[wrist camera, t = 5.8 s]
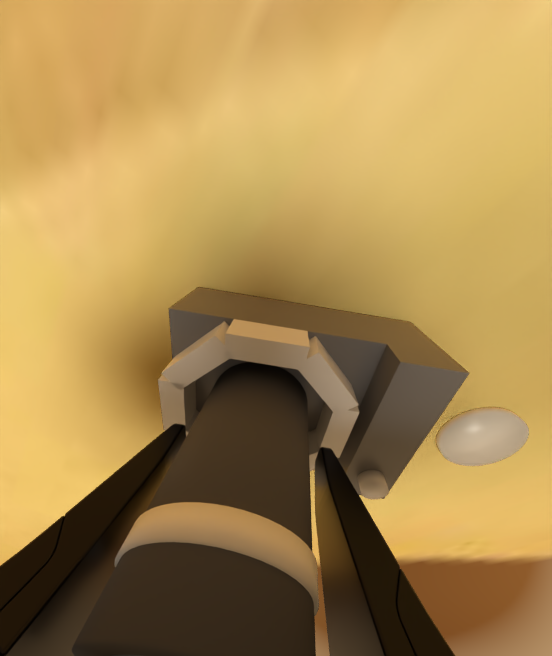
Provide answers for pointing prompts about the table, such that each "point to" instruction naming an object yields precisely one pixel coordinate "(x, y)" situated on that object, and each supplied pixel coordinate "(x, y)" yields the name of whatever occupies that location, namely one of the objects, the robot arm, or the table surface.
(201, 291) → the camera body
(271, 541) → the lens
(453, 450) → the pale white disc
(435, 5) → the table surface
